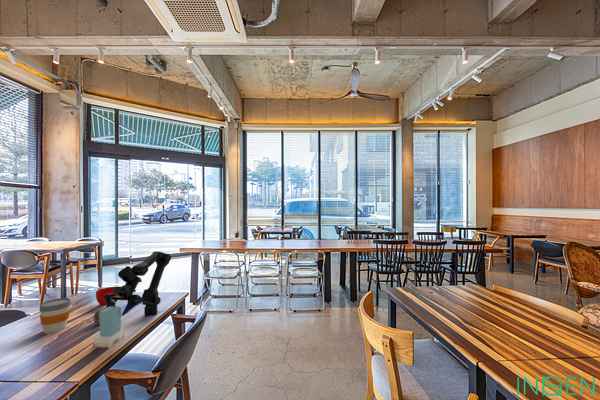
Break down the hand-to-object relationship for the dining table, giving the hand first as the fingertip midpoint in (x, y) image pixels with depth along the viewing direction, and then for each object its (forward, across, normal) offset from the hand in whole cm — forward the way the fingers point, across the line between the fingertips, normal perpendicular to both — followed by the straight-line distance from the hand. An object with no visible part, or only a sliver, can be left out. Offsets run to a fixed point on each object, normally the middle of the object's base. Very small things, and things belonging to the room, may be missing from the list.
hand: (114, 314), depth 130 cm
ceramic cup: (-20, -38, +38) cm, 58 cm away
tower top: (+10, 0, +5) cm, 11 cm away
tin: (-4, -22, +22) cm, 31 cm away
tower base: (+11, 0, +7) cm, 13 cm away
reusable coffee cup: (+4, -40, +14) cm, 43 cm away
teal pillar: (+8, 0, +4) cm, 8 cm away
